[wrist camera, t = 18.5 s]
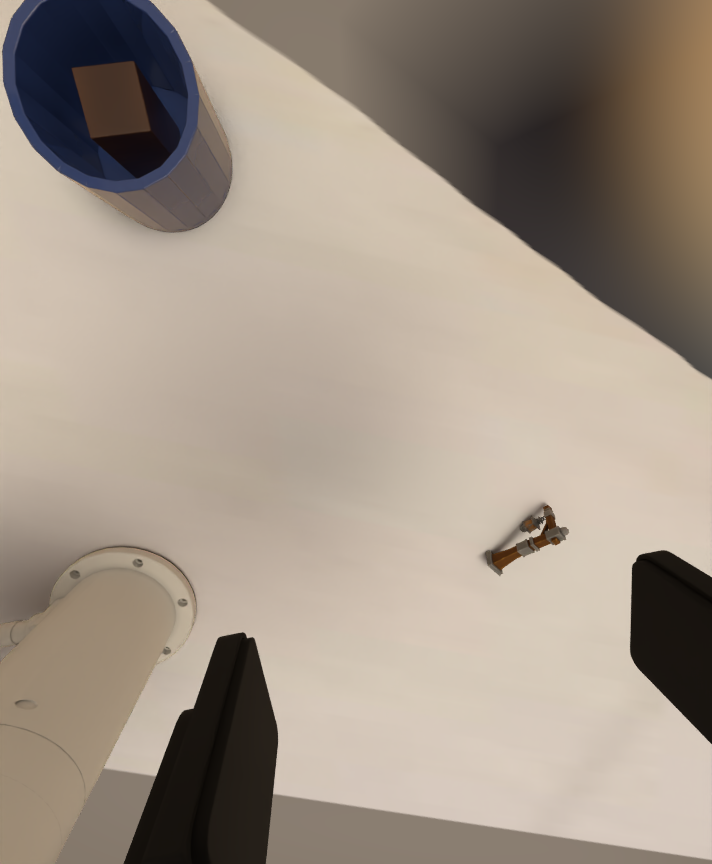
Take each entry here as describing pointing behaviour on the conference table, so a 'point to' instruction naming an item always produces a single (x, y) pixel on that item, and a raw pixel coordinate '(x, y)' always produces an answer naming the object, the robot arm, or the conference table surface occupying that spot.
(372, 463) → the conference table surface
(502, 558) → the wooden post with brackets
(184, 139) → the mug
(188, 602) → the robot arm
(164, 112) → the walnut peg
